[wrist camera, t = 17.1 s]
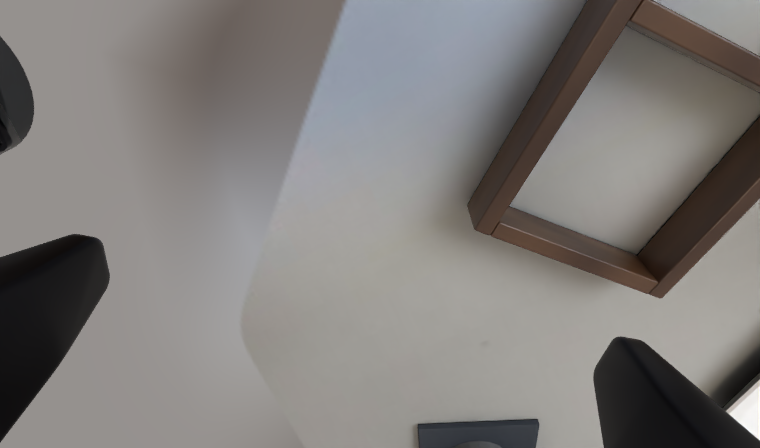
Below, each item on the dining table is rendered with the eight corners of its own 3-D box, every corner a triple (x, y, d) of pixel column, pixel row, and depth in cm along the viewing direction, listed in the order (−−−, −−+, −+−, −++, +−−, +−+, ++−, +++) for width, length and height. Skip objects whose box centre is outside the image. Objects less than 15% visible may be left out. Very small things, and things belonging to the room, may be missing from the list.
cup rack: (466, 205, 21) (473, 230, 19) (818, -395, 11) (903, -464, 10) (639, 271, 23) (661, 299, 21) (1064, -198, 13) (1175, -223, 11)
